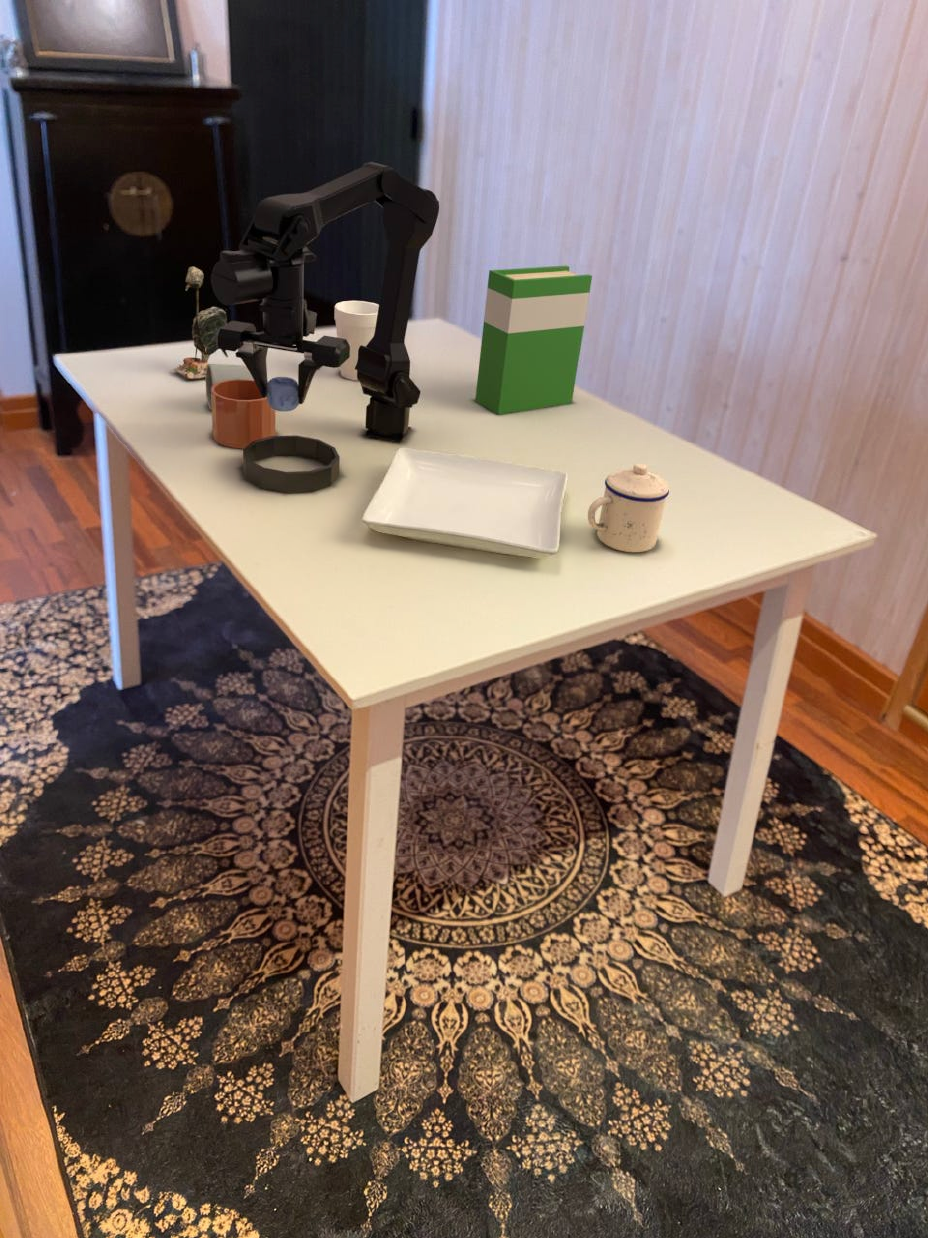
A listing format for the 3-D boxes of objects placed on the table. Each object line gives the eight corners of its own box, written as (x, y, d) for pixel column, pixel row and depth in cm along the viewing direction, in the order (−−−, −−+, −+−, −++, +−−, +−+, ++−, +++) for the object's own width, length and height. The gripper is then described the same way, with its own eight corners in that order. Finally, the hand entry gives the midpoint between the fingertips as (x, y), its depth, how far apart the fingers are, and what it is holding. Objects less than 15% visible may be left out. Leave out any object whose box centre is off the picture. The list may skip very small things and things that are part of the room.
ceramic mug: (260, 413, 174) (260, 370, 170) (213, 416, 171) (211, 371, 167) (247, 393, 183) (246, 351, 179) (201, 395, 180) (199, 352, 176)
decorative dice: (266, 402, 153) (266, 377, 151) (291, 401, 154) (291, 375, 152) (274, 412, 150) (273, 386, 148) (300, 410, 151) (300, 384, 149)
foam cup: (325, 377, 194) (326, 308, 187) (343, 363, 201) (346, 297, 194) (371, 386, 192) (374, 317, 185) (388, 372, 199) (392, 306, 192)
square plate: (358, 543, 138) (359, 518, 136) (397, 466, 161) (399, 443, 159) (554, 573, 136) (558, 548, 134) (565, 491, 160) (569, 468, 158)
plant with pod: (240, 376, 190) (238, 266, 179) (182, 383, 183) (177, 270, 173) (222, 362, 195) (219, 255, 184) (165, 369, 189) (159, 258, 178)
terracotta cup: (284, 431, 169) (284, 385, 165) (261, 453, 161) (260, 405, 156) (228, 421, 170) (227, 375, 166) (202, 442, 162) (200, 394, 158)
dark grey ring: (349, 463, 160) (350, 445, 159) (319, 499, 149) (319, 479, 147) (265, 448, 162) (265, 429, 161) (228, 482, 151) (228, 462, 149)
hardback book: (548, 390, 200) (566, 265, 187) (571, 402, 195) (592, 275, 182) (475, 400, 191) (489, 270, 178) (498, 414, 186) (514, 281, 173)
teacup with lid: (633, 521, 153) (648, 449, 146) (669, 549, 146) (686, 475, 140) (566, 531, 147) (579, 457, 141) (600, 561, 141) (615, 484, 135)
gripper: (362, 291, 149) (358, 393, 157) (243, 273, 151) (245, 374, 160) (339, 310, 139) (336, 417, 148) (212, 290, 142) (216, 396, 150)
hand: (283, 400), depth 152 cm, fingers closed on decorative dice, 5 cm apart
